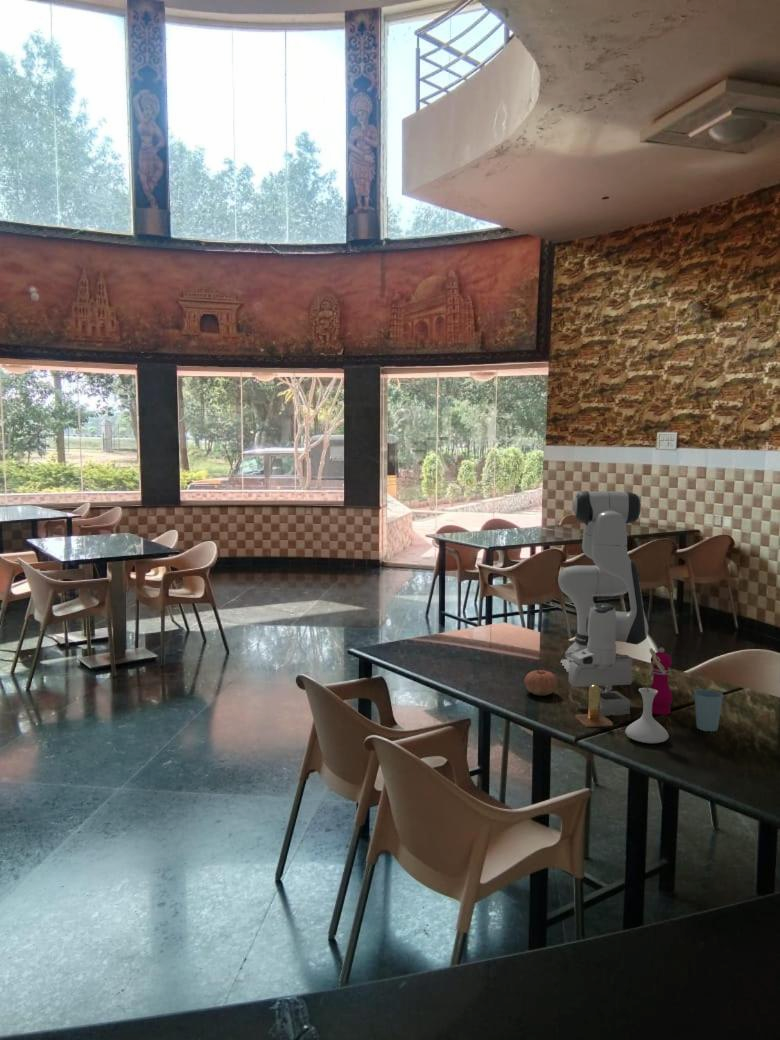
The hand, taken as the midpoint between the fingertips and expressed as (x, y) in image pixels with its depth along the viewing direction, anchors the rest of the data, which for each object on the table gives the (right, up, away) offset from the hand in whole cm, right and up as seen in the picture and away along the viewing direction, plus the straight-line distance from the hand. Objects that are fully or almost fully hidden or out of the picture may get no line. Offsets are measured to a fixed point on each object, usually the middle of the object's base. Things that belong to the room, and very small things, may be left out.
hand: (600, 698), depth 239 cm
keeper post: (-6, -3, -17) cm, 18 cm away
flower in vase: (+5, -4, -30) cm, 31 cm away
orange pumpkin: (-17, -1, +10) cm, 20 cm away
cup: (+25, -4, -22) cm, 33 cm away
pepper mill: (+16, -2, -7) cm, 18 cm away
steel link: (0, -2, -2) cm, 3 cm away
